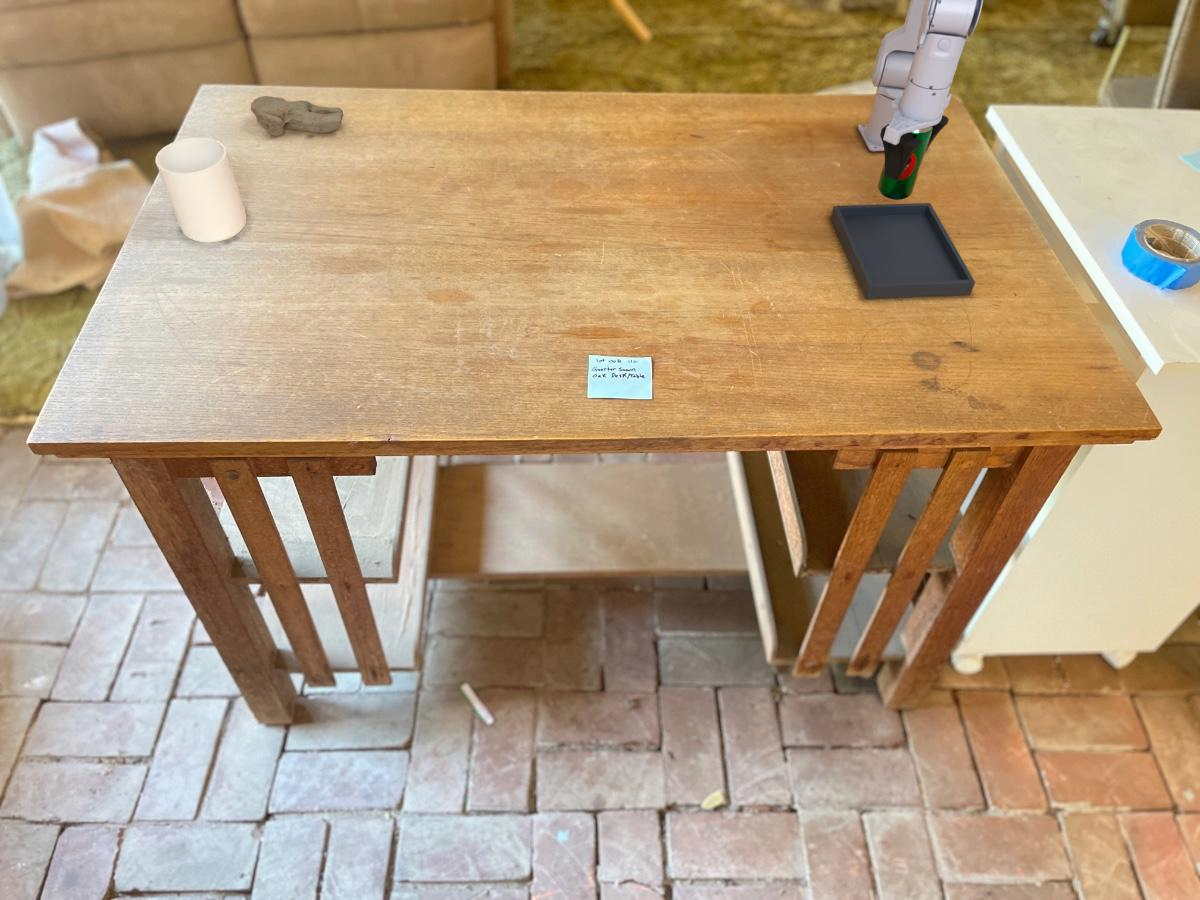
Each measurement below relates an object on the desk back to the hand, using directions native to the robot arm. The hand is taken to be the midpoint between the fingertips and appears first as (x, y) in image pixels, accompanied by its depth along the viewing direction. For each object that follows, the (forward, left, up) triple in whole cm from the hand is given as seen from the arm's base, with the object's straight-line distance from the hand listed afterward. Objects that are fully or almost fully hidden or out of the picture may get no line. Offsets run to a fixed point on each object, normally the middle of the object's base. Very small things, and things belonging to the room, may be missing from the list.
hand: (901, 169), depth 133 cm
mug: (+101, -8, -11) cm, 102 cm away
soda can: (0, 0, -4) cm, 4 cm away
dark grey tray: (0, +6, -10) cm, 12 cm away
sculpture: (+91, -34, -11) cm, 98 cm away
